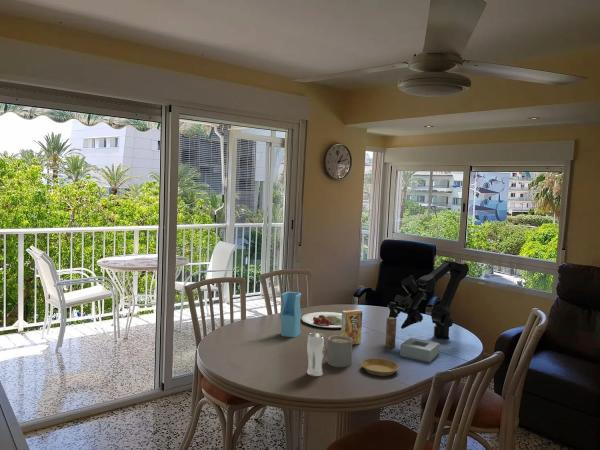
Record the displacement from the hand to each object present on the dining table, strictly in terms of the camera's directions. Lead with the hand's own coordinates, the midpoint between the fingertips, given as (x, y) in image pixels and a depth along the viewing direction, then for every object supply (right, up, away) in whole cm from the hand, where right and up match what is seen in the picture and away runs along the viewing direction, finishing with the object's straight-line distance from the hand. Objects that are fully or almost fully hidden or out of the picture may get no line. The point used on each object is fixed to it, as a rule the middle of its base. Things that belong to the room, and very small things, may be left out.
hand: (394, 325), depth 222 cm
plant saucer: (-12, -12, -31) cm, 35 cm away
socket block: (+9, -10, -11) cm, 17 cm away
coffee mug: (-26, -10, -23) cm, 36 cm away
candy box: (-20, -9, +2) cm, 22 cm away
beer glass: (-38, -11, -37) cm, 54 cm away
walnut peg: (-2, -9, 0) cm, 10 cm away
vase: (-48, -7, +12) cm, 50 cm away
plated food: (-28, -6, +38) cm, 47 cm away
